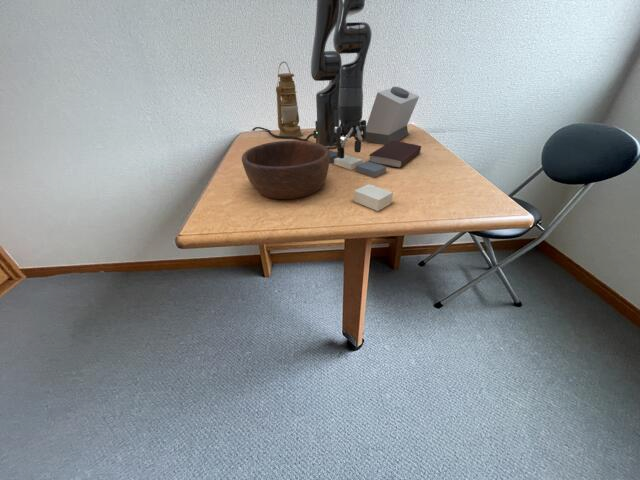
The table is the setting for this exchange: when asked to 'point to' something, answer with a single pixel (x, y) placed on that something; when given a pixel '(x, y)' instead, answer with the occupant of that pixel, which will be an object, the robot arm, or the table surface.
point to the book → (394, 154)
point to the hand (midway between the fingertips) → (349, 155)
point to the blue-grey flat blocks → (364, 166)
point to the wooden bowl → (287, 168)
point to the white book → (347, 162)
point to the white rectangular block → (373, 197)
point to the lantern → (287, 105)
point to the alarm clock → (390, 115)
